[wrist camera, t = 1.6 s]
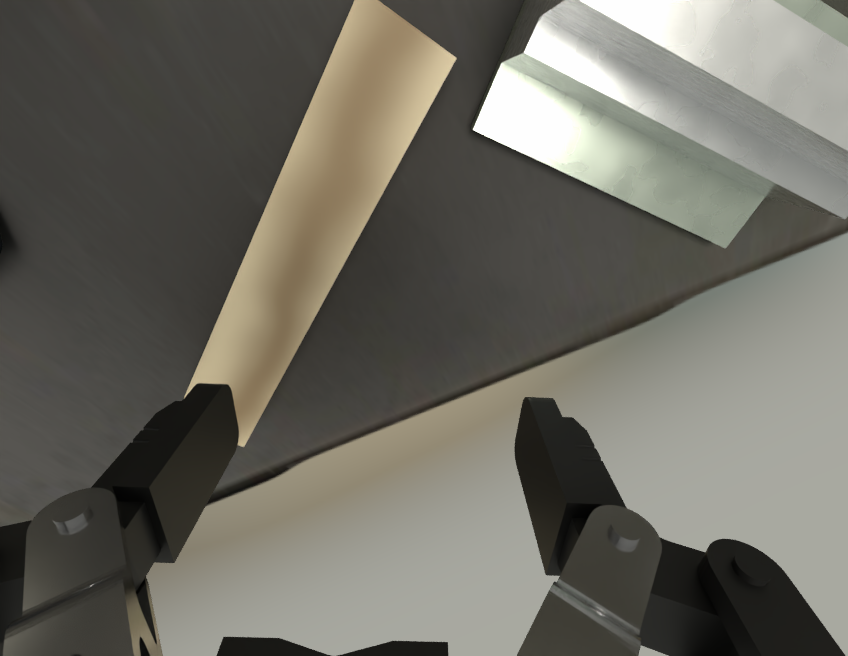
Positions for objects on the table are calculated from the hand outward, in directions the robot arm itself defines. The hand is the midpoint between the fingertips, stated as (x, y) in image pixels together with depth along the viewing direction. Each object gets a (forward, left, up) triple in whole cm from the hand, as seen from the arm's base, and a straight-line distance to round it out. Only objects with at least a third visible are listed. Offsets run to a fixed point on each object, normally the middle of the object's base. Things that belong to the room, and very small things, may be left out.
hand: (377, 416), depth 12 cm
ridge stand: (+10, +13, -19) cm, 25 cm away
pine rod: (-6, -4, -19) cm, 20 cm away
